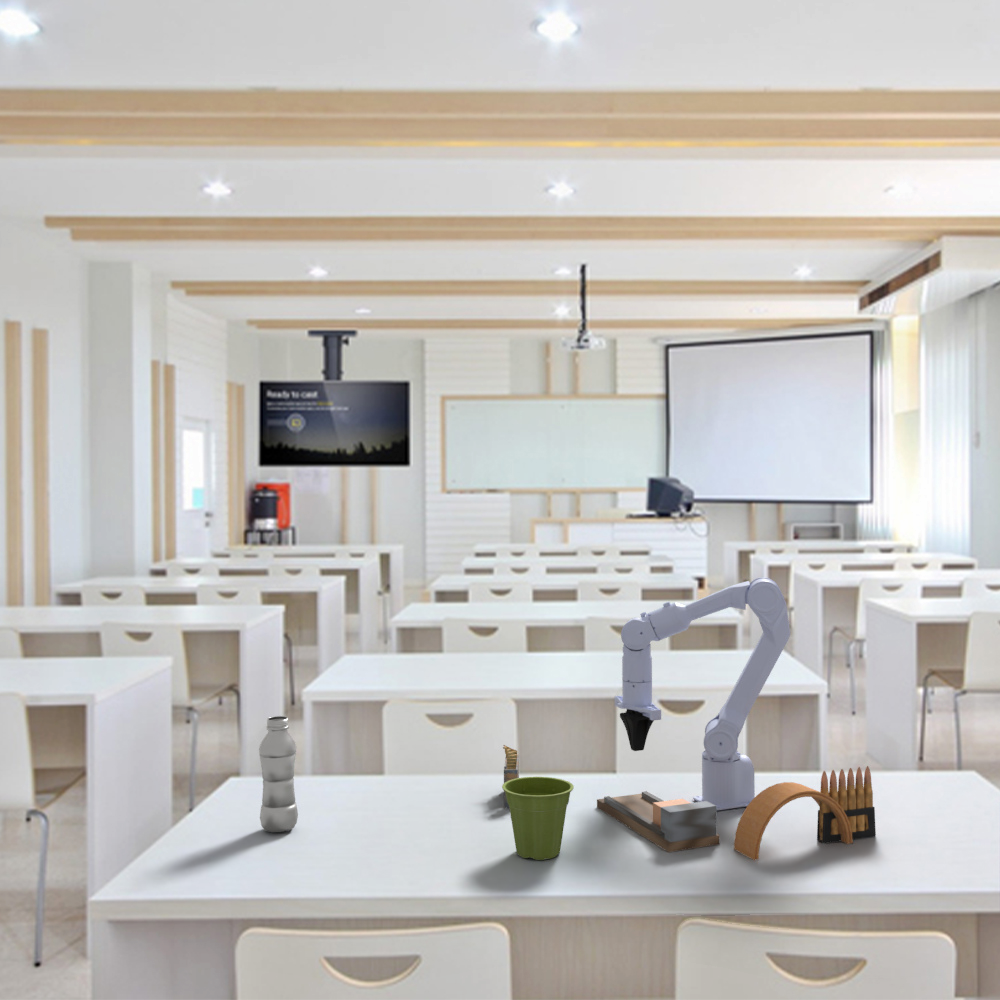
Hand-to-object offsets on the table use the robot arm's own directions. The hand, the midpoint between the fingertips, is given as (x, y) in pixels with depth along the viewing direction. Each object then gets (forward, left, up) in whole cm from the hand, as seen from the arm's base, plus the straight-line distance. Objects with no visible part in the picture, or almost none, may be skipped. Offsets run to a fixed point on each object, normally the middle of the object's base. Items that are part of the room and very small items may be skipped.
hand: (637, 749), depth 199 cm
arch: (-11, +34, -10) cm, 37 cm away
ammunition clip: (-22, +34, -10) cm, 41 cm away
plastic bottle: (+68, -8, -10) cm, 69 cm away
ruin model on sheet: (+23, -9, -10) cm, 27 cm away
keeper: (+5, +22, -8) cm, 24 cm away
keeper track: (+5, +15, -9) cm, 18 cm away
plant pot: (+30, +20, -10) cm, 37 cm away
